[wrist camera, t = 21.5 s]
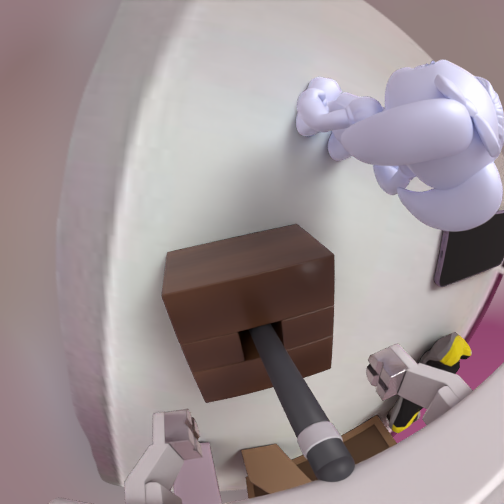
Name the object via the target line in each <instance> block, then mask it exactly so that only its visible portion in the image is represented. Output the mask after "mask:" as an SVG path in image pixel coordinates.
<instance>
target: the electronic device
mask: <svg viewBox="0 0 504 504" xmlns="http://www.w3.org/2000/svg"><path fill="white" fill-rule="evenodd" d="M200 444H201V450H202V456H203V457H202V458H196V459H189V460H184V463H183V465H182V467H181V469H180V471H179V473H178V476H177V478H176V480H175V482H174V484H173V485H174V494H175V495H177V496H179V497H180V498H181V499H182V504H220V503H222V500H221V495H220V491H219V486H218V481H217V476H216V471H215V466H214V462H213V457H212V453H211V448H210V443H209V442H207V443H200Z"/></svg>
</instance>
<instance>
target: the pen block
mask: <svg viewBox="0 0 504 504" xmlns="http://www.w3.org/2000/svg"><path fill="white" fill-rule="evenodd" d="M162 299H163V301H164V304H165V307H166V310H167V312H168V315H169V318H170V320H171V323H172V326H173V328H174V331H175V333H176V336H177V338H178V341H179V343H180V346H181V348H182V350H183V353H184V355H185V358H186V360H187V362H188V365H189V367H190V369H191V371H192V374H193V376H194V379H195V381H196V383H197V385H198V387H199V390H200V392H201V394H202V396H203V398H204V400H205V402H206V403H208V402H213V401H218V400H223V399H227V398H232V397H236V396H241V395H245V394H249V393H253V392H257V391H261V390H264V389H268V388H272V387H273V385H272V383H271V380H270V378H269V376H268V374H267V371H266V369H265V367H264V365H263V362H262V360H261V358H260V355H259V353H258V351H257V349H256V346H255V344H254V342H253V339H252V337H251V335H250V332H249V330H248V329H251V328H255V327H259V326H263V325H266V324H271V325H272V327H273V329H274V330H275V332H276V334H277V336H278V337H279V339H280V341H281V342H282V344H283V346H284V347H285V349H286V351H287V352H288V354H289V356H290V357H291V359H292V361H293V362H294V364H295V366H296V367H297V369H298V371H299V372H300V374H301V375H302V377H303V378H305V377H308V376H311V375H314V374H317V373H319V372H322V371H325V370H328V369H330V368H331V360H332V345H333V322H334V254H333V253H332V252H331V251H329V250H328V249H327V248H326V247H325V246H323V245H322V244H321V243H320V242H319V241H317V240H316V239H315V238H314V237H312V236H311V235H310V234H309V233H308V232H306V231H305V230H304V229H303V228H301V227H300V226H299V225H298V224H294V225H290V226H285V227H280V228H275V229H271V230H266V231H261V232H256V233H252V234H247V235H243V236H238V237H233V238H229V239H224V240H220V241H215V242H211V243H206V244H202V245H197V246H193V247H188V248H184V249H180V250H175V251H171V252H167V257H166V264H165V272H164V279H163V288H162Z"/></svg>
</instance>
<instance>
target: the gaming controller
mask: <svg viewBox="0 0 504 504" xmlns="http://www.w3.org/2000/svg"><path fill="white" fill-rule="evenodd" d="M470 355H471V350H470V347H469V346H468V344H467V343H466V342H465V340H464V339H463V338H462V337H461V336H459V335H458V334H457V333H456V332H454V333H452V334H449V335H447V336H445V337H443V338H440V339H439V340H438V341H436V342H435V344H434V345H433V347H432V349H430V350H429V351H427V352H426V353H425V354H424V355H423V356H422V357H421V359H420V362H419V363H421V364H425V365H428V366H431V367H434V368H437V369H440V370H443V371H447V372H450V373H453V374H456V372H457V371H458V369H459V368H460V365H459V363H460V362H459V359H467V358H468V357H470ZM422 408H424V407H422V406H420V405H417V404H415V403H413V402H411V401H409V400H407V399H405V398H403V397H401V396H400V397H399V399H398V400H397V402H396V404H395V406H394V408H393V410H392V412H391V416H390V422H389V427H390V428H391V429H392V430H393V431H394V432H397V433H400V432H401V431H403V430H404V429H406V428H407V427H409V426H410V425H411V423H412V422H413V420H414V419H415V417H416V416H417V414H418V413H419V411H420V410H421V409H422Z"/></svg>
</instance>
